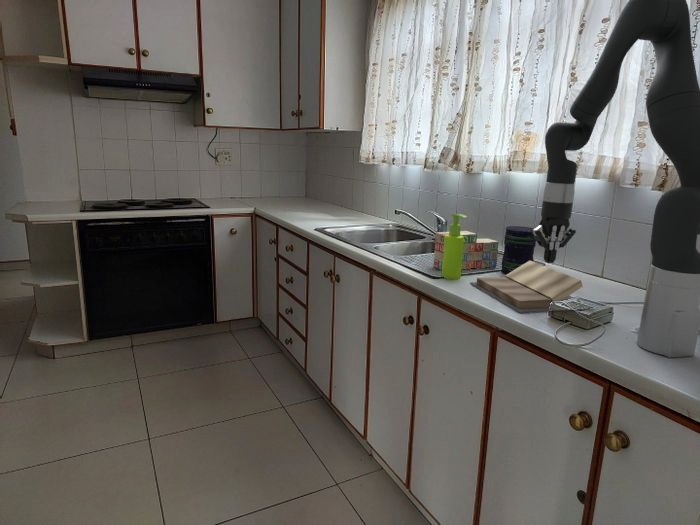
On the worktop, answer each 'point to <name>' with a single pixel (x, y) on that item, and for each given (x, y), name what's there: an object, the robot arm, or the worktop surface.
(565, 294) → the oak plank
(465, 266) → the stack of blocks
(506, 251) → the storage jar
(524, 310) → the underlay mat
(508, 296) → the walnut plank
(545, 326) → the worktop surface
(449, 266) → the soap dispenser
